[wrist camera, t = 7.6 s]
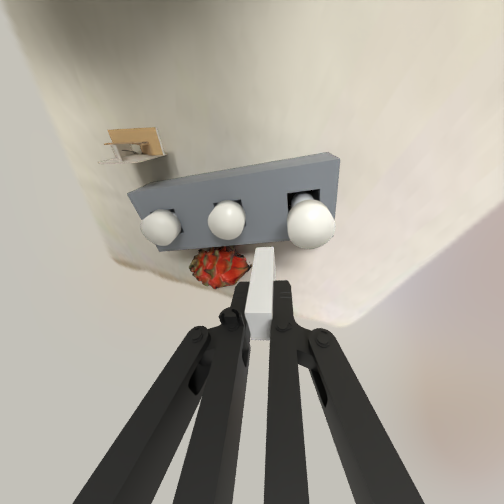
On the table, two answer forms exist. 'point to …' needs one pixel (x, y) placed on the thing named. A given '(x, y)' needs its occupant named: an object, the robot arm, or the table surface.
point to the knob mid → (227, 219)
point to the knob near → (309, 222)
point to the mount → (240, 198)
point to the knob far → (161, 227)
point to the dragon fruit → (219, 267)
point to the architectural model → (134, 136)
